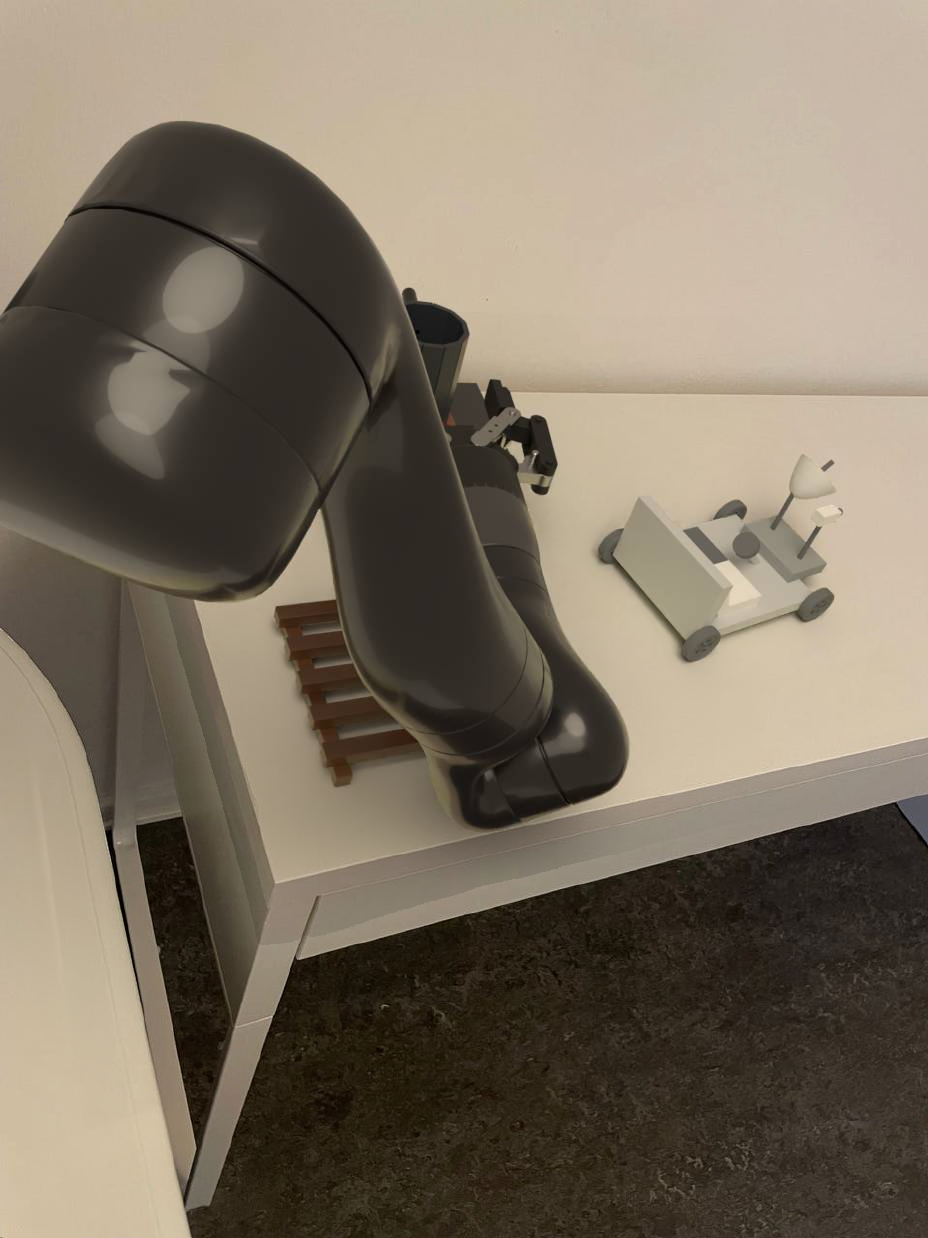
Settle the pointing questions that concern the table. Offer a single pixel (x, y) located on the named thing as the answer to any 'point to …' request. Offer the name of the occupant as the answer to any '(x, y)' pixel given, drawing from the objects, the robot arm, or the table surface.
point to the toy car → (725, 563)
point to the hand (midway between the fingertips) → (435, 383)
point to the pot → (438, 346)
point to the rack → (332, 678)
